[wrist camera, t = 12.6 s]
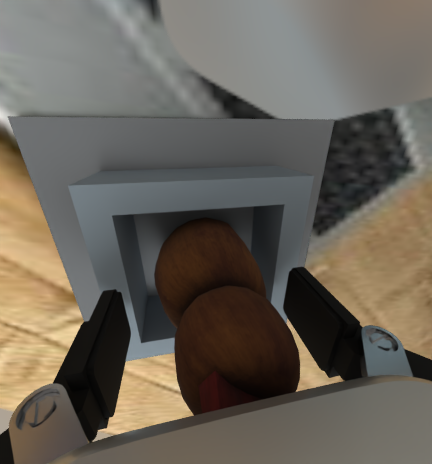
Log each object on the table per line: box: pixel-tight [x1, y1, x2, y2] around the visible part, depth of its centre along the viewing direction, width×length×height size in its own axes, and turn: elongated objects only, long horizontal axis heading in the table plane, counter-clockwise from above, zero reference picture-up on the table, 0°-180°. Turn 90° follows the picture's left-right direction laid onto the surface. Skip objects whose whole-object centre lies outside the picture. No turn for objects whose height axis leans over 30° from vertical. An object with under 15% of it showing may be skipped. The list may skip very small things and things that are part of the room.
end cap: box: [8, 116, 334, 361], centre depth 15 cm, size 20×18×6 cm
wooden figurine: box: [154, 217, 300, 416], centre depth 10 cm, size 7×6×15 cm
